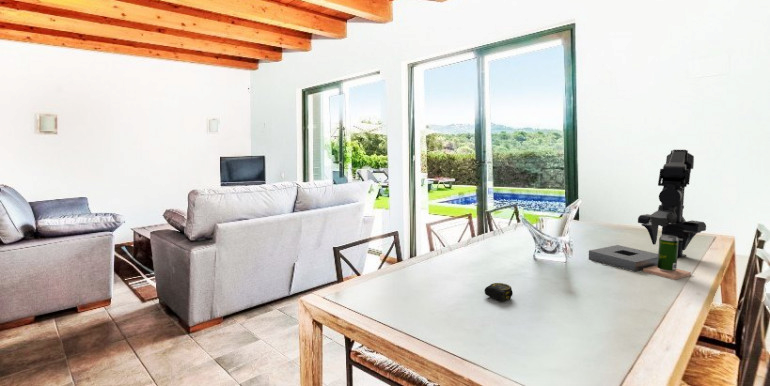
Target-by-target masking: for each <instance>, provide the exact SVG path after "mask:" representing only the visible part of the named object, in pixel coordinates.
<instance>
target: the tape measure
mask: <svg viewBox="0 0 770 386" xmlns="http://www.w3.org/2000/svg"><path fill="white" fill-rule="evenodd" d="M484 294H485V295H486V296H487V297H490V298H493V299H495V300H498V301H500V302H505V301H506V300H508V301H509V300H510V299H511V298H512V297H513V289H512V286H511V285H509V284H507V283H502V282H493V283H491V284H490V285H488V286H486V287H485V288H484Z"/></svg>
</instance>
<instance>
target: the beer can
mask: <svg viewBox="0 0 770 386" xmlns="http://www.w3.org/2000/svg"><path fill="white" fill-rule="evenodd" d="M658 238H659V239H658V251H657V254H658V264H657V267H658V269H659V270H660V271H664V272H675V271H676V269H677V267H678V265H677V264H678V258H677V255H678V242H679V240H678V237H676V236H672V235H662V234H661V235H660V237H658Z"/></svg>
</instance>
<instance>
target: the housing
mask: <svg viewBox="0 0 770 386" xmlns="http://www.w3.org/2000/svg"><path fill="white" fill-rule="evenodd" d="M588 260H590V261H594V262H598V263H601V264H604V265H609V266H611V267H615V266H616V268H619V267H620V268H619V269H623V268H624V269H623V270H626V269H627V270H626V271H630V270H631V271H632V272H634V273H635V272H640V271H643V269H644V268H648V267H652V266H656V265H657V264H658V253H656V252H651V251H646V250H641V249H636V248H634V247H628V246H624V245H619V244H616V245H611V246H606V247H605V246H604V247H600V248H596V249H594V248H593V249H590V250H588ZM631 271H630V272H631Z"/></svg>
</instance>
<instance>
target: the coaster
mask: <svg viewBox="0 0 770 386" xmlns="http://www.w3.org/2000/svg"><path fill="white" fill-rule="evenodd" d="M642 272H645V273H647V274H650V275H651V274H652V275H655V276H659V277H662V278H667V279H671V280H674V281H675V280H678V279H682V278H686V277H688V276H691V275H692V272H691V271H687V270H684V269H683V270H682V269H680V268H676V271H675V272H664V271H660V270H659V269H658V267H657V265H656V266H652V267H648V268H644V269H643V270H642Z"/></svg>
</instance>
